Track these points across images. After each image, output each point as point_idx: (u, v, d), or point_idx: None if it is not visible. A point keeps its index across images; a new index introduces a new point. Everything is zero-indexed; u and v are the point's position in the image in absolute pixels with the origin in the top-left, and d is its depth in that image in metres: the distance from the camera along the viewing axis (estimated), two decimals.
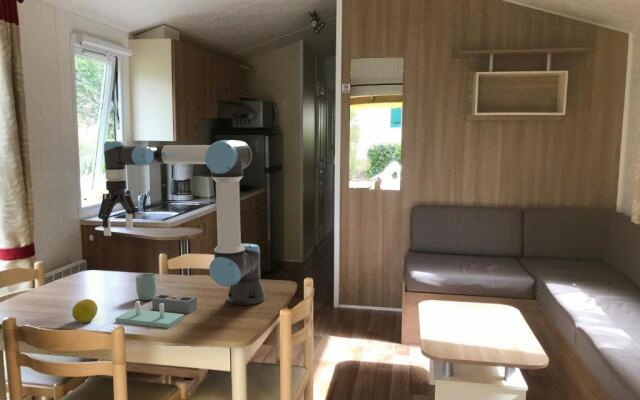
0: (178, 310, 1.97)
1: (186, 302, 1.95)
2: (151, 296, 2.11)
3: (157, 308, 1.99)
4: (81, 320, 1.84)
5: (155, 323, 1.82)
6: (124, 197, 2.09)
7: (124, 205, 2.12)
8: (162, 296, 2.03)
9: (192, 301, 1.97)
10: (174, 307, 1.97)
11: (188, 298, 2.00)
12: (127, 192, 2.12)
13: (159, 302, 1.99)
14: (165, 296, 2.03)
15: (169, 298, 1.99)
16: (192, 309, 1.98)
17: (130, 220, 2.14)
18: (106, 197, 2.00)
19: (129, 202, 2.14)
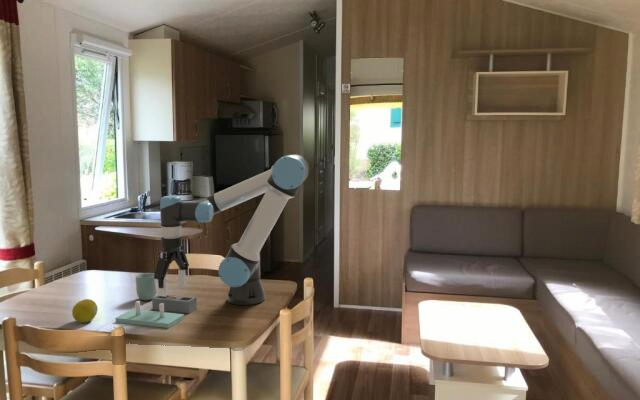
0: (178, 310, 1.97)
1: (186, 302, 1.95)
2: (151, 296, 2.11)
3: (157, 308, 1.99)
4: (81, 320, 1.84)
5: (155, 323, 1.82)
6: (179, 254, 1.99)
7: (178, 261, 2.02)
8: (162, 296, 2.03)
9: (192, 301, 1.97)
10: (174, 307, 1.97)
11: (188, 298, 2.00)
12: (181, 248, 2.03)
13: (159, 302, 1.99)
14: (165, 296, 2.03)
15: (169, 298, 1.99)
16: (192, 309, 1.98)
17: (183, 276, 2.05)
18: (162, 256, 1.91)
19: (182, 258, 2.05)
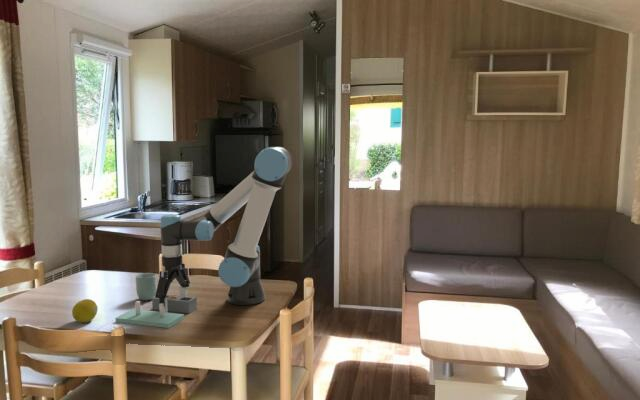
0: (178, 310, 1.97)
1: (186, 302, 1.95)
2: (151, 296, 2.11)
3: (157, 308, 1.99)
4: (81, 320, 1.84)
5: (155, 323, 1.82)
6: (180, 272, 2.00)
7: (179, 279, 2.03)
8: None
9: (192, 301, 1.97)
10: (174, 307, 1.97)
11: (188, 298, 2.00)
12: (182, 265, 2.03)
13: (159, 302, 1.99)
14: None
15: (169, 298, 1.99)
16: (192, 309, 1.98)
17: (184, 294, 2.06)
18: (163, 275, 1.92)
19: (183, 275, 2.06)
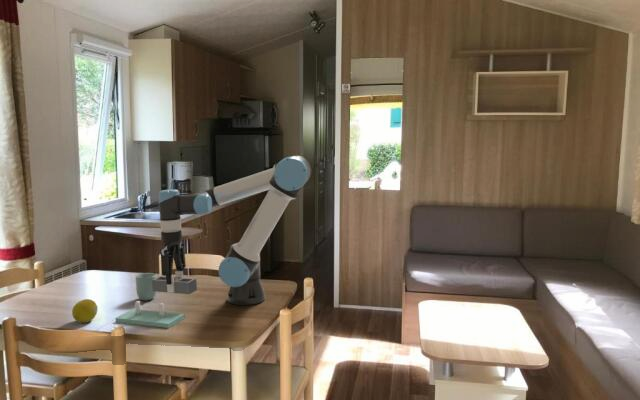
0: (178, 291, 1.96)
1: (185, 283, 1.94)
2: (151, 296, 2.11)
3: (157, 290, 1.98)
4: (81, 320, 1.84)
5: (155, 323, 1.82)
6: (179, 249, 1.99)
7: (176, 259, 2.00)
8: (162, 278, 2.02)
9: (192, 282, 1.96)
10: (174, 288, 1.96)
11: (188, 279, 1.99)
12: (182, 244, 2.02)
13: (159, 284, 1.98)
14: (165, 278, 2.02)
15: None
16: (192, 290, 1.97)
17: None
18: (164, 254, 1.91)
19: (181, 256, 2.02)
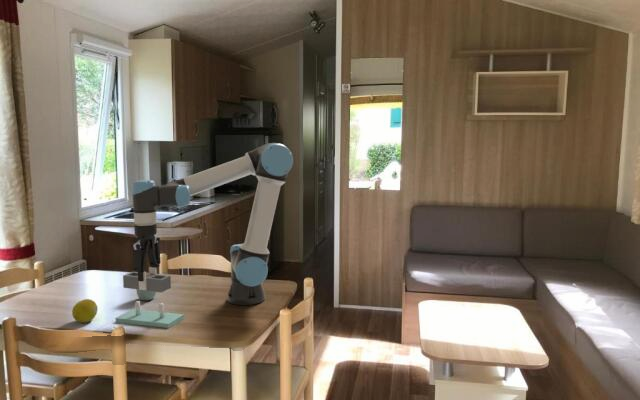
0: (150, 289, 1.83)
1: (158, 281, 1.82)
2: (151, 296, 2.11)
3: (128, 286, 1.86)
4: (81, 320, 1.84)
5: (155, 323, 1.82)
6: (153, 244, 1.86)
7: (150, 254, 1.88)
8: (134, 274, 1.90)
9: (165, 279, 1.84)
10: None
11: (162, 276, 1.87)
12: (157, 239, 1.90)
13: (130, 280, 1.86)
14: None
15: None
16: (165, 288, 1.84)
17: None
18: (136, 248, 1.79)
19: (156, 251, 1.90)
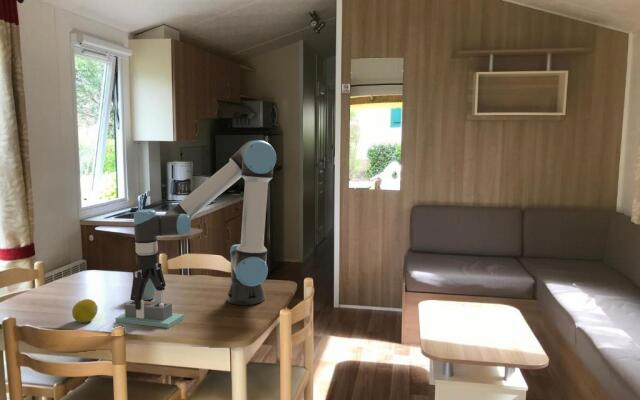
0: (152, 317, 1.85)
1: (160, 309, 1.83)
2: (151, 296, 2.11)
3: (130, 315, 1.87)
4: (81, 320, 1.84)
5: (155, 323, 1.82)
6: (155, 271, 1.88)
7: (154, 280, 1.90)
8: None
9: (167, 308, 1.85)
10: (148, 314, 1.85)
11: None
12: (158, 265, 1.91)
13: (132, 309, 1.87)
14: None
15: None
16: (167, 316, 1.86)
17: (159, 298, 1.92)
18: (137, 276, 1.80)
19: (159, 276, 1.93)
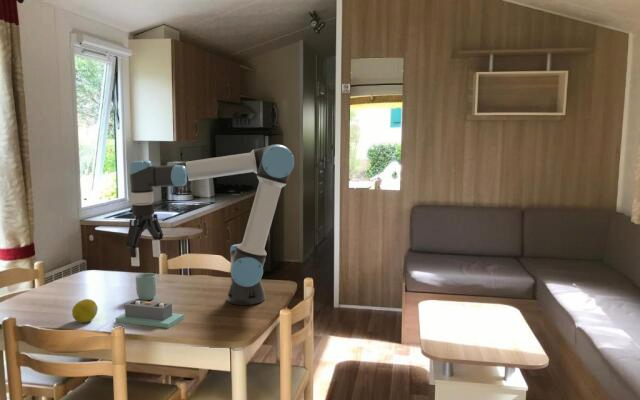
0: (152, 317, 1.85)
1: (160, 309, 1.83)
2: (151, 296, 2.11)
3: (130, 315, 1.87)
4: (81, 320, 1.84)
5: (155, 323, 1.82)
6: (152, 222, 1.89)
7: (151, 231, 1.92)
8: None
9: (167, 308, 1.85)
10: (148, 314, 1.85)
11: None
12: (154, 216, 1.93)
13: (132, 309, 1.87)
14: None
15: (143, 304, 1.87)
16: (167, 316, 1.86)
17: (157, 247, 1.95)
18: (134, 223, 1.81)
19: (156, 227, 1.95)
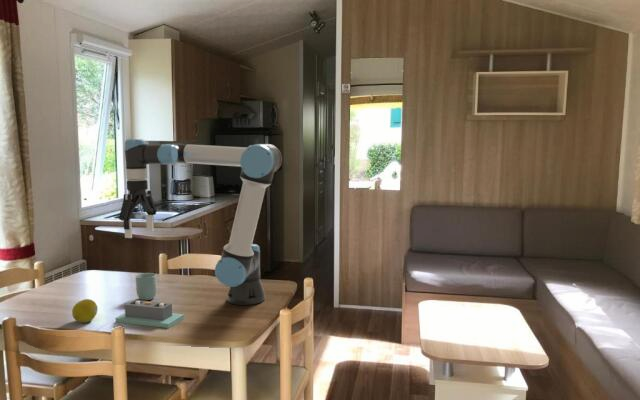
0: (152, 317, 1.85)
1: (160, 309, 1.83)
2: (151, 296, 2.11)
3: (130, 315, 1.87)
4: (81, 320, 1.84)
5: (155, 323, 1.82)
6: (145, 197, 2.01)
7: (145, 206, 2.03)
8: None
9: (167, 308, 1.85)
10: (148, 314, 1.85)
11: None
12: (148, 192, 2.04)
13: (132, 309, 1.87)
14: None
15: (143, 304, 1.87)
16: (167, 316, 1.86)
17: (151, 221, 2.06)
18: (127, 198, 1.92)
19: (150, 203, 2.06)
